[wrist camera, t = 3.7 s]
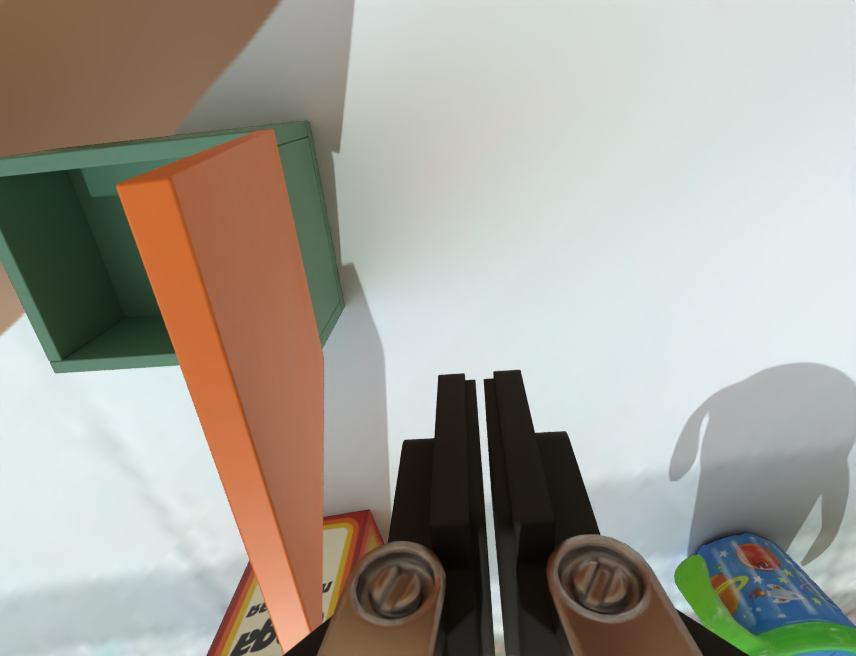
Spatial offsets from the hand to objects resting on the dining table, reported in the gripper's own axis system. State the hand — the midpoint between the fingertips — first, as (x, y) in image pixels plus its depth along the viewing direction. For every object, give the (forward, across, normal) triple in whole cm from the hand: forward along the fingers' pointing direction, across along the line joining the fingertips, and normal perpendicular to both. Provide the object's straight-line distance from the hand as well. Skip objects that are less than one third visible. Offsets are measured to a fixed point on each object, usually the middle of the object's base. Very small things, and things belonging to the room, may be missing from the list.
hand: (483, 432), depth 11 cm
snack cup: (+22, -20, +31) cm, 43 cm away
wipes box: (+22, +16, 0) cm, 27 cm away
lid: (+7, +7, 0) cm, 10 cm away
